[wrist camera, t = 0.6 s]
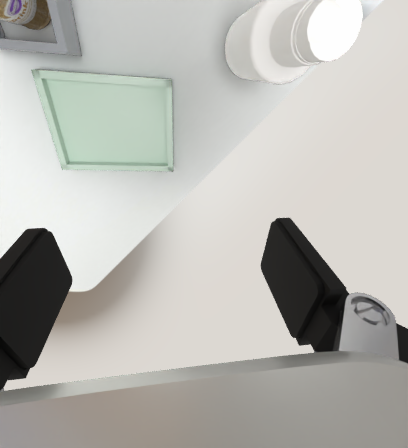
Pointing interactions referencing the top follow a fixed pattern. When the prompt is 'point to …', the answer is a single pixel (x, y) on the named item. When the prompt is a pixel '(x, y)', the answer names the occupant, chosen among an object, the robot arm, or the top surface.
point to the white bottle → (290, 37)
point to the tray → (108, 120)
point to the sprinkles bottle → (25, 12)
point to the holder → (62, 27)
